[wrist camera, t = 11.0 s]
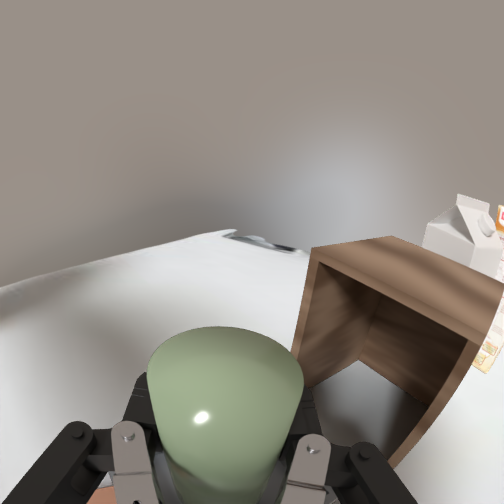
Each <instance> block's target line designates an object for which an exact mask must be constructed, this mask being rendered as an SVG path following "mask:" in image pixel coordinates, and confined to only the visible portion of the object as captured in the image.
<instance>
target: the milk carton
mask: <svg viewBox="0 0 504 504" xmlns="http://www.w3.org/2000/svg"><path fill="white" fill-rule="evenodd" d="M489 206H490V204H489V203H486V202H483V201H479V200H477V199H474V198H470V197H467V196H464V195H461V194H458V195H457V201H456V205H454V206H453V207H451V208H450V209H448V210H447V211H446V212H444V213H443V214H441V215H440V216H438V217H437V218H435V219H433V220H432V221H430V222H429V223H428V224H427V228H426V232H425V237H424V241H423V245H422V248H424V249H427V250H429V251H432V252H434V253H437V254H439V255H441V256H444V257H446V258H449V259H451V260H453V261H456V262H458V263H460V264H463V265H465V266H467V267H469V268H472V269H474V270H476V271H478V272H480V273H483V274H485V275H487V276H489V277H491V278H493V279H495V276H496V273H497V270H498V267H499V264H500V260H501V257H502V253H503V249H504V247H503V245H502V242H501V240H500V237H499V235H498V233H497V231H496V226H495V224H494V221H493V220H492V219H491V217H490V216H489V214H488V211H489Z"/></svg>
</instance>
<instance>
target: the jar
mask: <svg viewBox="0 0 504 504" xmlns="http://www.w3.org/2000/svg"><path fill="white" fill-rule="evenodd" d="M147 382H148V388H149V393H150V398H151V403H152V407H153V412H154V416H155V421H156V425H157V429H158V433H159V437H160V441H161V444H162V448H163V452H164V455H165V459H166V462H167V466H168V469H169V472H170V476H171V479H172V482H173V485H174V488H175V491H176V494H177V496H178V498H179V500H180V501H181V503H182V504H259V502H260V500H261V498H262V496H263V493H264V491H265V489H266V487H267V484H268V482H269V480H270V478H271V475H272V473H273V470H274V468H275V466H276V463H277V461H278V458H279V456H280V453H281V451H282V448H283V446H284V443H285V440H286V438H287V435H288V433H289V430H290V427H291V424H292V422H293V419H294V416H295V413H296V410H297V407H298V405H299V402H300V399H301V396H302V392H303V387H304V378H303V373H302V370H301V367H300V365H299V363H298V362H297V360H296V359H295V357H294V356H293V355H292V354H291V353H290V352H289V351H288V350H287V349H286V348H285V347H283V346H282V345H281V344H279V343H278V342H276V341H275V340H273V339H271V338H269V337H267V336H264V335H262V334H259V333H256V332H253V331H250V330H246V329H240V328H234V327H220V326H217V327H203V328H197V329H192V330H189V331H185V332H183V333H180V334H178V335H175V336H173V337H171V338H170V339H168V340H167V341H165V342H164V343H163V344H162V345H160V346H159V347H158V348H157V350H156V351H155V352H154V353H153V355H152V356H151V359H150V361H149V363H148V368H147Z"/></svg>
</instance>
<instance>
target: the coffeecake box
mask: <svg viewBox="0 0 504 504" xmlns="http://www.w3.org/2000/svg"><path fill="white" fill-rule="evenodd" d="M495 226H496V231H497V233H498V235H499V237H500V240H501V242H502V245H503V247H504V206H502V205H498V213H497V218H496V224H495ZM495 279H496V280H498V281H500V282H502V283H504V249H503V253H502V257H501V260H500V264H499V267H498V270H497V273H496V276H495ZM503 345H504V292H503V295H502V298H501V301H500V304H499V306H498V309H497V312H496V314H495V317H494V319H493V322H492V324H491V327H490V329H489V331H488V334H487V336H486V338H485V340H484V342H483V344H482V346H481V348H480V350H479V352H478V354H477V355H476V357H475V359H474V361H473V363H472V365H473V366H475V367H476V368H478V369H479V370H480V371H482V372H483V373H485V374H487V372H488V371H489V369H490V368H491V366H492V365H493V363H494V361H495V360H496V358H497V356H498V355H499V353H500V351H501V349H502V347H503Z"/></svg>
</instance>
